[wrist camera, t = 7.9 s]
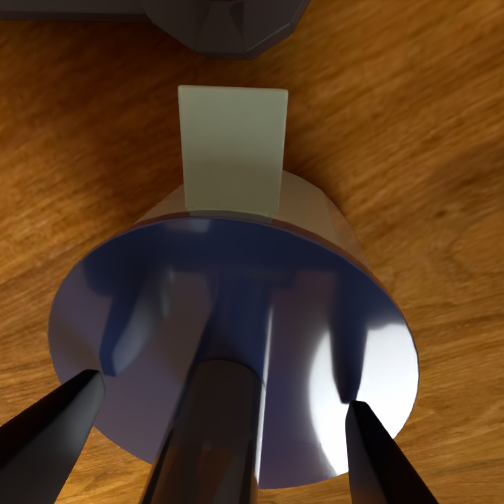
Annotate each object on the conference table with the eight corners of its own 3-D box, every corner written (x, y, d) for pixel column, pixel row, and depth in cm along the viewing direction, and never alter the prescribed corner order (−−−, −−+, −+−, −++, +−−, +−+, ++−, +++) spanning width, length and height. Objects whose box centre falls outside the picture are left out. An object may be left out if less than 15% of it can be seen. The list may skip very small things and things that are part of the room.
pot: (394, 96, 11) (503, 96, 5) (329, 388, 18) (348, 521, 12) (128, 85, 12) (-18, 75, 6) (165, 369, 19) (112, 486, 13)
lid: (459, 217, 7) (856, 498, 2) (365, 474, 12) (419, 745, 7) (29, 187, 8) (-410, 339, 3) (103, 439, 13) (-15, 657, 8)
